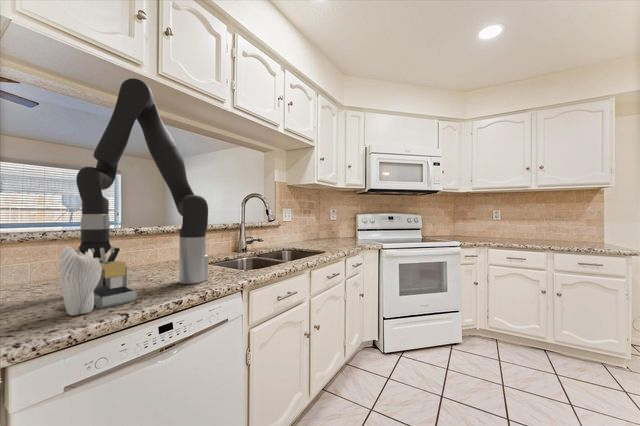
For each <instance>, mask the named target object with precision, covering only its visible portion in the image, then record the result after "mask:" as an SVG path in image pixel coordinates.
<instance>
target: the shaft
mask: <svg viewBox="0 0 640 426" xmlns="http://www.w3.org/2000/svg"><path fill="white" fill-rule="evenodd" d="M98 261H99V260H98ZM99 262H100V264H101V263H102V261H99ZM103 285H104V286H106V287H108V288H110V289H111V288H117V287H122V286H123V276H117V277H111V278H103Z"/></svg>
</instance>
